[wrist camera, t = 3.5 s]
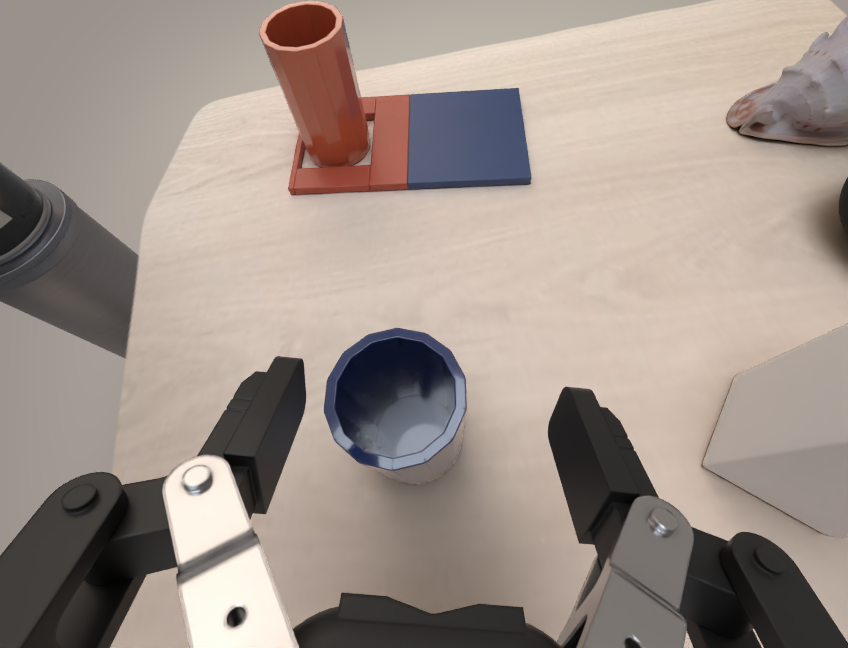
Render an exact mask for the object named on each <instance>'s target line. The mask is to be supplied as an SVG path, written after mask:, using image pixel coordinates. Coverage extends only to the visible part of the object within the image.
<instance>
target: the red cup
mask: <svg viewBox="0 0 848 648" xmlns="http://www.w3.org/2000/svg"><path fill="white" fill-rule="evenodd" d="M259 36H260V38H261V40H262V43H263V45H264V48H265V50H266V53H267V55H268V57H269V60H270V62H271V65H272V67H273V70H274V72H275V75H276V77H277V79H278V82H279V84H280V87H281V89H282V92H283V94H284V97H285V99H286V101H287V104H288V106H289V109H290V111H291V114H292V116H293V119H294V121H295V123H296V126H297V128H298V131H299V133H300V136H301V138H302V141H303V143H304V145H305V148H306V150H307V152H308V154H309V157H310V159H311V160H312V161H313V162H314V163H315V164H316V165H318V166H320V167H341V166H352V165H354V164H356V163H358V162H359V161H360V160H362V159H363V158H364V157H365V155H366V154H367V152H368V150H369V147H370V139H369V131H368V126H367V122H366V117H365V113H364V108H363V104H362V100H361V95H360V91H359V86H358V82H357V77H356V73H355V68H354V64H353V59H352V55H351V51H350V46H349V42H348V37H347V33H346V28H345V24H344V19H343V16H342V15H341V13H340V12H339V10H338V9H337V8H336V7H334V6H332V5H330V4H327V3H325V2H317V1H303V2H298V3H293V4H289V5H286V6H284V7H282V8H280V9H278V10H276V11H274V12H272V13H271V15H269V16H268V17H267V18H266V19H265V20H264V21H263V22H262V25H261V28H260V32H259Z"/></svg>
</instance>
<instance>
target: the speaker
mask: <svg viewBox="0 0 848 648" xmlns="http://www.w3.org/2000/svg"><path fill="white" fill-rule="evenodd" d="M839 214H840V219H841V222H842V225H843V227H844V229H845V230H846V232H847V234H848V177H847V179H846V181H845V183H844V185H843V188H842V191H841V194H840V199H839Z"/></svg>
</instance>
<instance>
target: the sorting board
mask: <svg viewBox="0 0 848 648" xmlns="http://www.w3.org/2000/svg"><path fill="white" fill-rule="evenodd" d="M361 100H362V104H363V108H364V113H365V117H366V120H374V131H373V144H372V156H371V166H370V165H362V166H341V167H321V168H301V164H302V159H303V153H304V147H305V145H304V143H303V141H302V138H301V136H300V133H299V135H298V140H297V145H296V150H295V156H294V161H293V166H292V171H291V176H290V182H289V187H288V189H289V191H290V193H291V195H296V194H315V193H337V192H359V191H370V190H371V191H382V190H404V189H429V188H451V187H473V186H496V185H518V184H530V181H531V172H530V165H529V158H528V151H527V144H526V137H525V130H524V123H523V116H522V109H521V102H520V95H519V88H511V89H494V90H478V91H461V92H444V93H427V94H411V95H396V96H379V97H361Z"/></svg>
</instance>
